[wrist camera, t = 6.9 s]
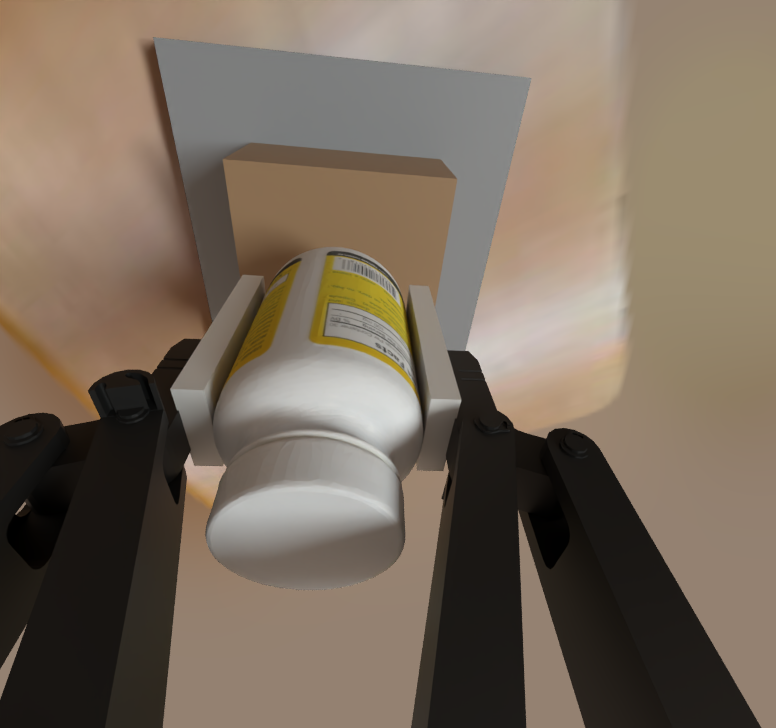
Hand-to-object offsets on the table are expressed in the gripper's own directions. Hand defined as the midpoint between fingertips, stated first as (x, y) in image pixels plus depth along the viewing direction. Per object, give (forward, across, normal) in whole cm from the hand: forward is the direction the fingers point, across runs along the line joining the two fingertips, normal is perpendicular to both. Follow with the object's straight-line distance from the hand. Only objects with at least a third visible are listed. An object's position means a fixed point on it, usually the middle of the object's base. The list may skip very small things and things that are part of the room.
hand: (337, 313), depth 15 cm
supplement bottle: (+1, 0, 0) cm, 1 cm away
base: (+9, 0, 0) cm, 9 cm away
